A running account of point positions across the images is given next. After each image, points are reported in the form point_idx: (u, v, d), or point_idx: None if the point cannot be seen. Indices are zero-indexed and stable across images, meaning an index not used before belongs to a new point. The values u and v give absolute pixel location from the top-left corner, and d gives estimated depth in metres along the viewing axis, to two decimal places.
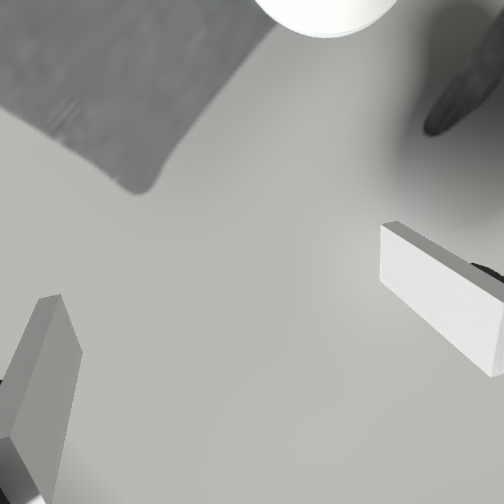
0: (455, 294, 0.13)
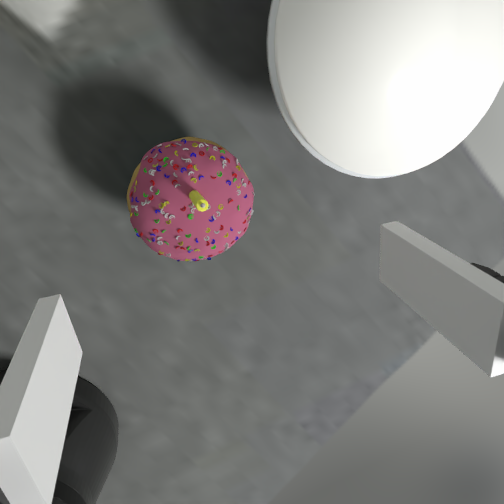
0: (455, 294, 0.13)
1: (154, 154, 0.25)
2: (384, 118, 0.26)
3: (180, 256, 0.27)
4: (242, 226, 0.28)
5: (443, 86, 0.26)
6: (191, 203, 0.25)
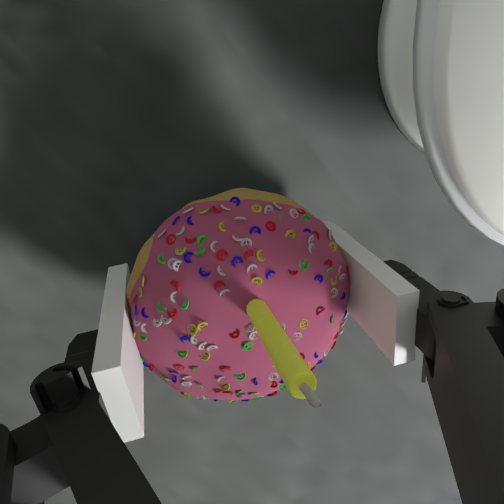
0: (367, 288, 0.14)
1: (179, 228, 0.13)
2: None
3: (222, 399, 0.15)
4: (331, 343, 0.16)
5: None
6: (250, 323, 0.13)
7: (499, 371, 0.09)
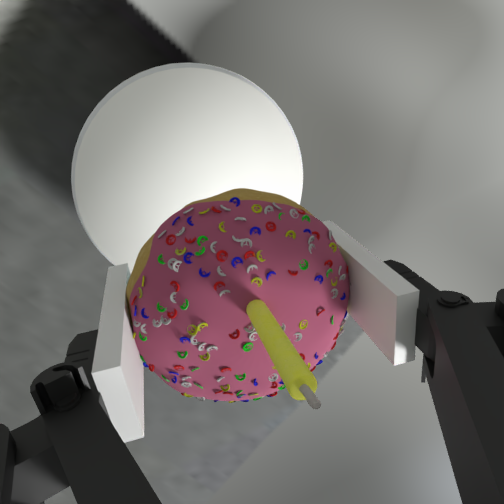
0: (367, 288, 0.14)
1: (179, 228, 0.13)
2: None
3: (221, 400, 0.15)
4: (331, 344, 0.16)
5: None
6: (250, 323, 0.13)
7: (499, 371, 0.09)
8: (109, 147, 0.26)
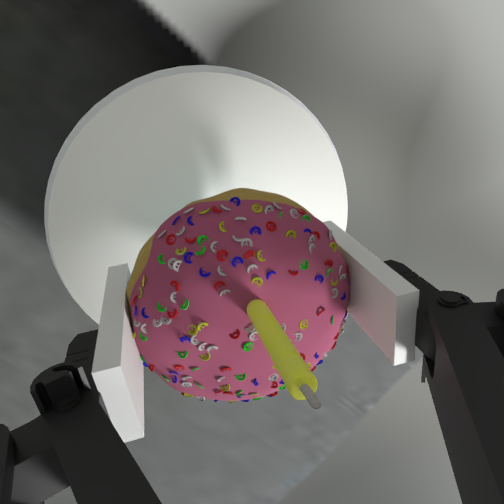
0: (367, 288, 0.14)
1: (180, 228, 0.13)
2: None
3: None
4: (331, 343, 0.16)
5: None
6: (250, 323, 0.13)
7: (499, 371, 0.09)
8: (95, 179, 0.19)
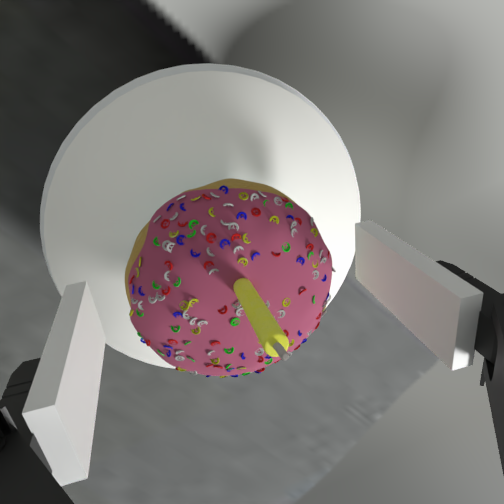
0: (420, 290, 0.14)
1: (173, 213, 0.14)
2: None
3: (213, 374, 0.17)
4: (314, 323, 0.17)
5: None
6: (237, 300, 0.14)
7: None
8: (93, 185, 0.18)
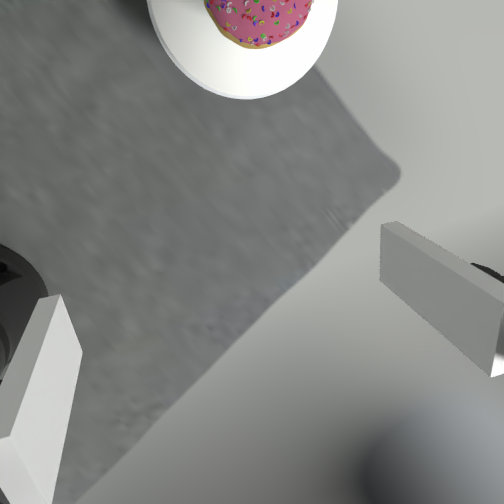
0: (456, 294, 0.13)
1: None
2: (236, 49, 0.35)
3: (244, 31, 0.30)
4: (303, 10, 0.30)
5: None
6: None
7: None
8: None
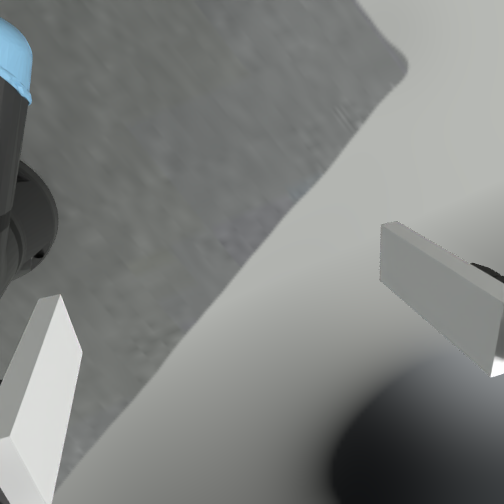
0: (455, 294, 0.13)
1: None
2: None
3: None
4: None
5: None
6: None
7: None
8: None
